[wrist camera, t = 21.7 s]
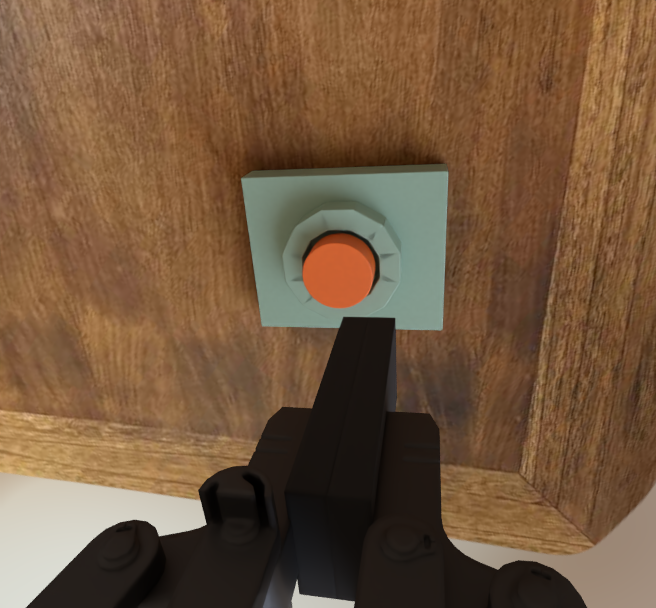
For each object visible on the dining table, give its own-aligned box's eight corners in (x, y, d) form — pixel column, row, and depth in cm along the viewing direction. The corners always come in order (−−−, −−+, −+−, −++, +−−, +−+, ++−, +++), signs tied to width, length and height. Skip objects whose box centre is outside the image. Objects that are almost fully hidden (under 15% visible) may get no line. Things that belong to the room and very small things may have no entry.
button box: (446, 163, 29) (449, 177, 26) (441, 314, 33) (443, 345, 30) (251, 170, 31) (229, 184, 28) (270, 311, 36) (253, 339, 32)
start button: (374, 232, 28) (371, 242, 26) (376, 296, 30) (373, 309, 28) (305, 233, 29) (298, 242, 27) (311, 295, 30) (305, 308, 29)
